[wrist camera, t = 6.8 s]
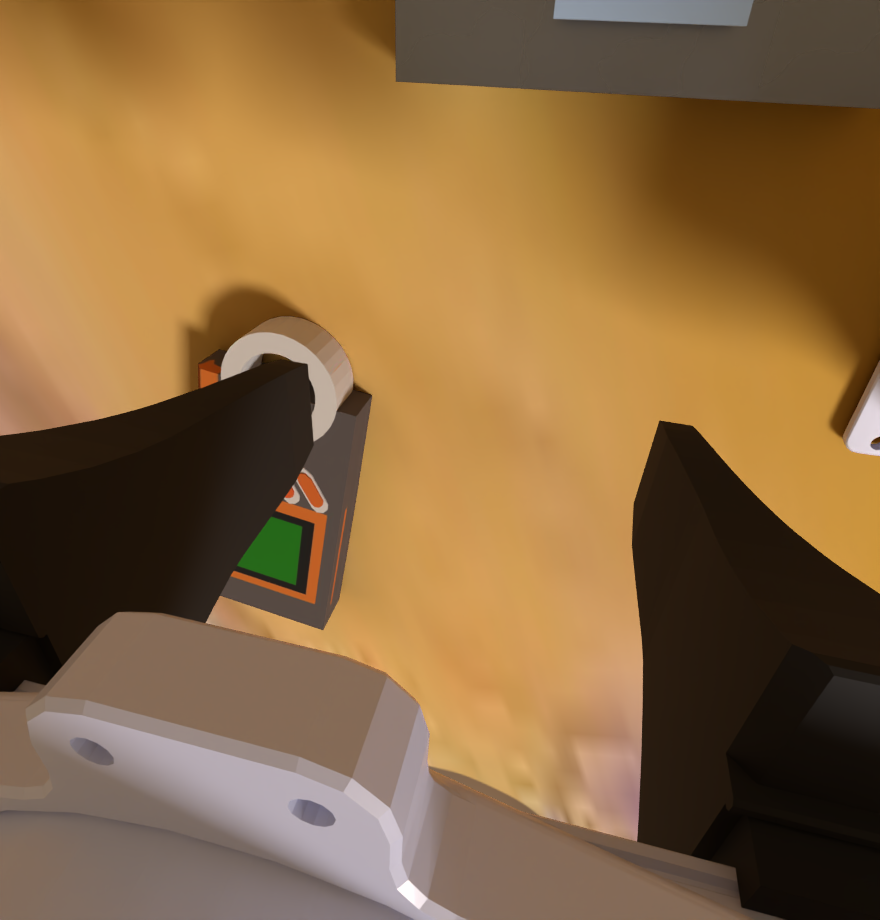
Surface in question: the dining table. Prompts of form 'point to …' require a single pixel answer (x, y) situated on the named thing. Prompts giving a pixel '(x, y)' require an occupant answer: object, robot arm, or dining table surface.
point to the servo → (657, 11)
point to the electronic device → (303, 477)
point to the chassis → (648, 51)
